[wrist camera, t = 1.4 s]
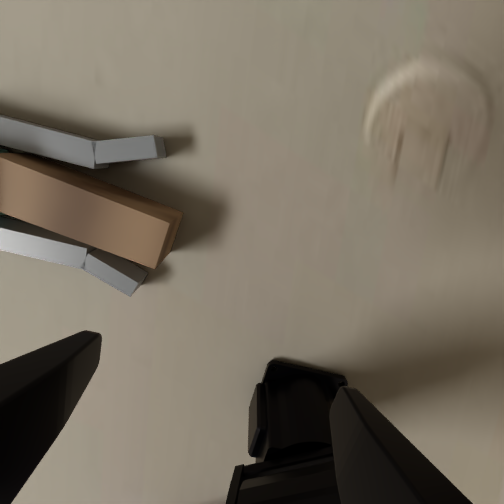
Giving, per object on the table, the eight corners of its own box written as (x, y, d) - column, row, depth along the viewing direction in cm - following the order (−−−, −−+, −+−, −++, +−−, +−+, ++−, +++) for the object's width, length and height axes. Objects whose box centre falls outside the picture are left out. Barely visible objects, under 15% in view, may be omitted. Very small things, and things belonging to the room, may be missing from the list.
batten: (184, 212, 20) (169, 223, 16) (171, 251, 21) (154, 269, 17) (35, 153, 19) (-12, 152, 15) (28, 197, 20) (-18, 205, 16)
